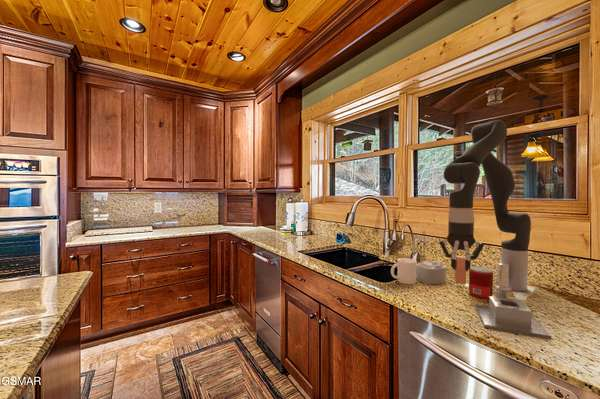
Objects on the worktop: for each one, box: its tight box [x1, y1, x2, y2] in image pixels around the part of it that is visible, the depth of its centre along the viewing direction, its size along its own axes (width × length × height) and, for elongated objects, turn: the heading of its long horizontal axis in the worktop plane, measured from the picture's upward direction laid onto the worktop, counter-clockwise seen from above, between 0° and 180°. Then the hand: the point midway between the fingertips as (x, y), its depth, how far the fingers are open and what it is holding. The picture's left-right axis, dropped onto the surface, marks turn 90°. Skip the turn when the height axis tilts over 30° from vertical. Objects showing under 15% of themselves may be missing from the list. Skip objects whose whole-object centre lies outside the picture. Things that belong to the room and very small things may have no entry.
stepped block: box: [454, 255, 467, 285], centre depth 92 cm, size 3×3×9 cm
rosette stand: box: [474, 262, 552, 340], centre depth 88 cm, size 18×16×17 cm
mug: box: [390, 257, 417, 286], centre depth 124 cm, size 12×8×10 cm
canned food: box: [468, 265, 494, 300], centre depth 108 cm, size 8×8×11 cm
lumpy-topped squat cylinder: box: [416, 260, 447, 285], centre depth 127 cm, size 10×13×9 cm
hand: (460, 269), depth 92 cm, fingers closed on stepped block, 3 cm apart
